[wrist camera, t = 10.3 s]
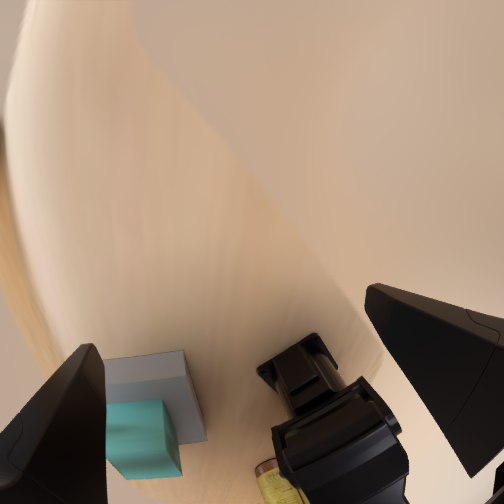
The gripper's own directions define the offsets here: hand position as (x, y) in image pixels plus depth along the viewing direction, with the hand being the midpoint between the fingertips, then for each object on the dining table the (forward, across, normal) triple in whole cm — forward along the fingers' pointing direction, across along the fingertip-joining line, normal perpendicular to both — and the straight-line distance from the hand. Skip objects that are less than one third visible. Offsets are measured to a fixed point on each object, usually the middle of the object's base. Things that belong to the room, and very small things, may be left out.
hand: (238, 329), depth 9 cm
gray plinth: (+12, +8, +16) cm, 22 cm away
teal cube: (+9, +8, +16) cm, 20 cm away
